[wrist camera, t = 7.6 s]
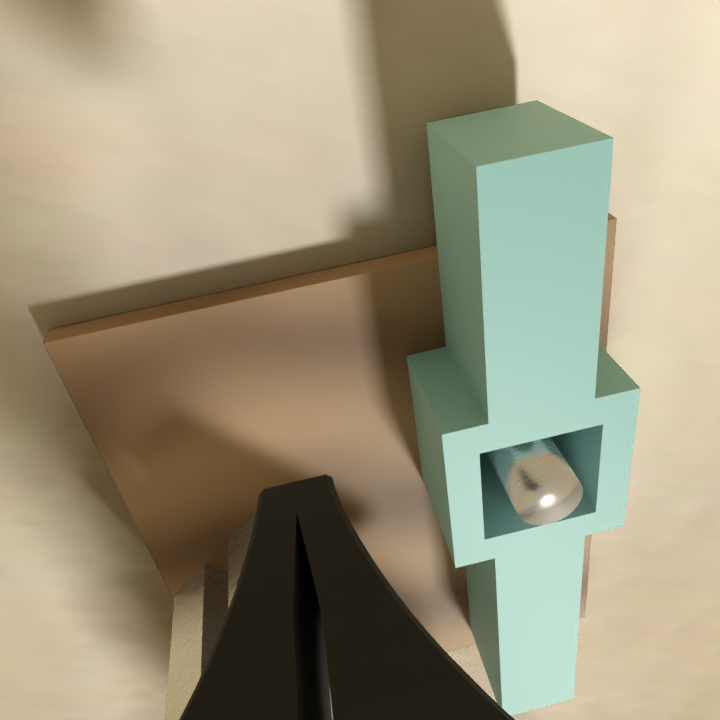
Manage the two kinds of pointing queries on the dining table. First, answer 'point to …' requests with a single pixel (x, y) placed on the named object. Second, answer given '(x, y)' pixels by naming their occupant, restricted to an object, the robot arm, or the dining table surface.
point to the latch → (521, 379)
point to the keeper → (202, 621)
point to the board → (280, 416)
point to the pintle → (537, 481)
